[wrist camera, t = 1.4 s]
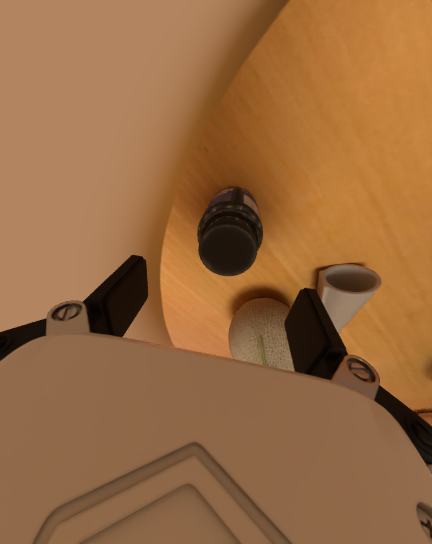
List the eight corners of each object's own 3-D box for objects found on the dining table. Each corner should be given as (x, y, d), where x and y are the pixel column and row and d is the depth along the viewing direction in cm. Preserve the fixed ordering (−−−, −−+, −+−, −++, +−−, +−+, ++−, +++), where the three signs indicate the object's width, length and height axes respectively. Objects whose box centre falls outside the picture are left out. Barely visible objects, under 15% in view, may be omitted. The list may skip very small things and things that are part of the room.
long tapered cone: (355, 373, 33) (390, 294, 21) (313, 368, 35) (324, 294, 23) (345, 342, 37) (371, 262, 25) (309, 339, 39) (317, 265, 27)
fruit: (292, 274, 28) (329, 376, 16) (295, 327, 34) (325, 431, 22) (223, 284, 31) (209, 378, 19) (237, 332, 37) (234, 427, 24)
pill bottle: (207, 231, 26) (187, 277, 17) (211, 182, 23) (189, 208, 14) (252, 237, 26) (256, 288, 17) (263, 189, 23) (276, 220, 13)
